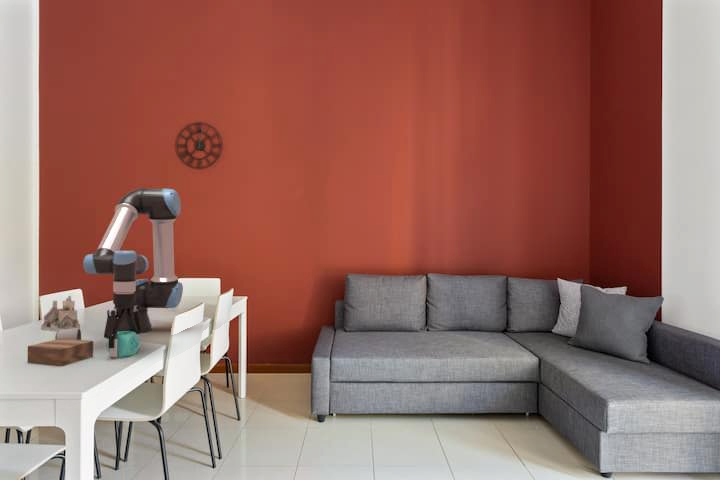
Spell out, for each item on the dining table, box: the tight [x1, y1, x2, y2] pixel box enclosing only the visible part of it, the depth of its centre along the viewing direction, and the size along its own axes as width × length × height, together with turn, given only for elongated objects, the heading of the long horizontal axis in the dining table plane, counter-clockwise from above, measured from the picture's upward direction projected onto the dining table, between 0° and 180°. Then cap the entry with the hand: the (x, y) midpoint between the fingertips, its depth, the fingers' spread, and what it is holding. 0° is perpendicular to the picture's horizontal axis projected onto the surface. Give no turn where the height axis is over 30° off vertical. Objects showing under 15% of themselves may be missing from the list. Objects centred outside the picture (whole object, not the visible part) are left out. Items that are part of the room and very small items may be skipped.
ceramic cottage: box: [40, 295, 81, 333], centre depth 234 cm, size 16×16×15 cm
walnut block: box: [27, 338, 94, 367], centre depth 179 cm, size 14×14×6 cm
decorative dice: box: [106, 331, 140, 358], centre depth 188 cm, size 8×8×8 cm
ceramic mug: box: [54, 327, 82, 340], centre depth 196 cm, size 10×8×7 cm
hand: (123, 353), depth 188 cm, fingers open, 9 cm apart
